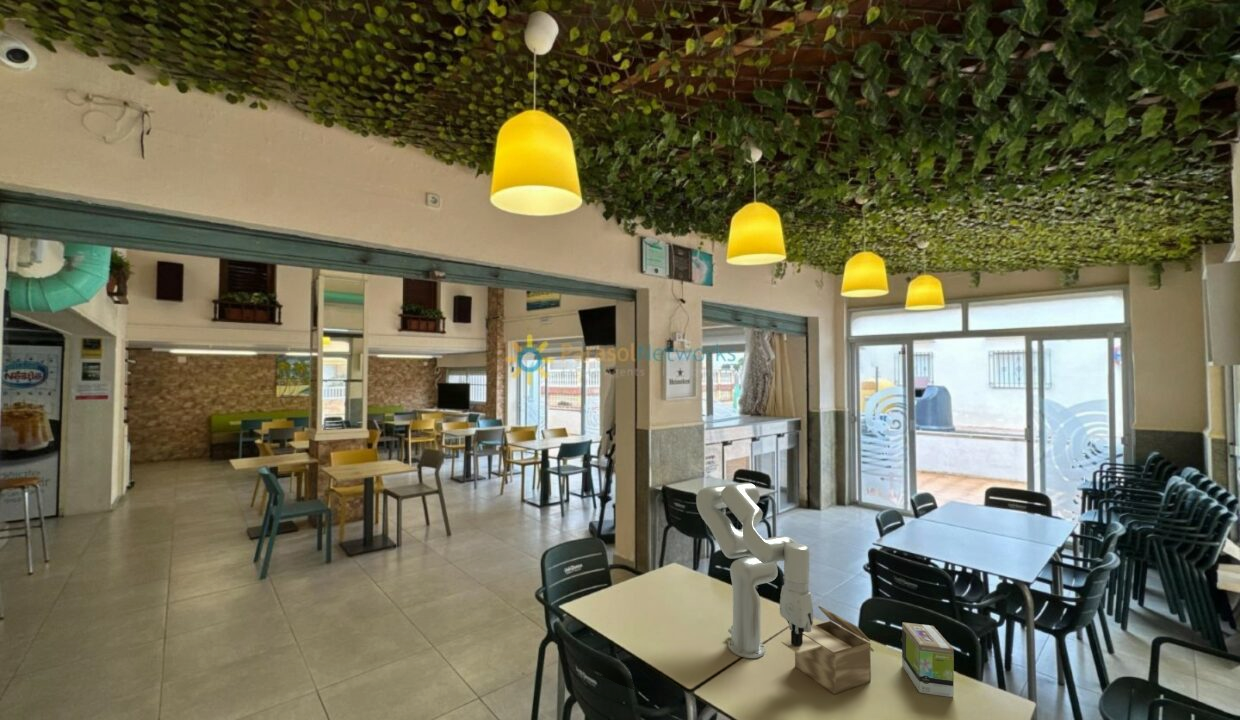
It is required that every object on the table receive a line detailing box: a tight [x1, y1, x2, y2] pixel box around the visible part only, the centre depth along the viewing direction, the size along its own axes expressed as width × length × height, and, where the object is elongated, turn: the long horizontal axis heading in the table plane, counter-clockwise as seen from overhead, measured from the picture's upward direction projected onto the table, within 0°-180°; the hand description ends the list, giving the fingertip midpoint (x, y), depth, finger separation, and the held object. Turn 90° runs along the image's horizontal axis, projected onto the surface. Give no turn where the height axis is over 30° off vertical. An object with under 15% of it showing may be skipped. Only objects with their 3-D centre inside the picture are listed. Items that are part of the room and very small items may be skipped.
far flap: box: [818, 605, 875, 653], centre depth 163 cm, size 15×18×1 cm
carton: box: [794, 619, 872, 695], centre depth 159 cm, size 16×16×12 cm
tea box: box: [901, 621, 955, 698], centre depth 156 cm, size 15×10×15 cm, turn 168°
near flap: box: [781, 623, 852, 654], centre depth 156 cm, size 15×18×1 cm
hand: (796, 644), depth 153 cm, fingers closed
